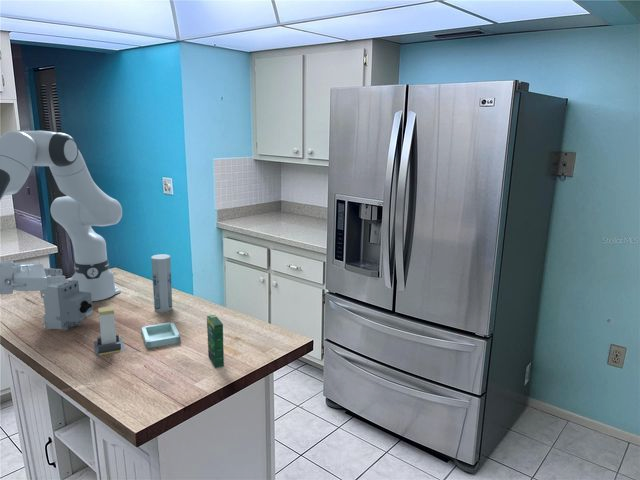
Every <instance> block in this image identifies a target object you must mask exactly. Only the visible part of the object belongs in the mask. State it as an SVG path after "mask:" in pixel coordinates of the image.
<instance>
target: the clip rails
mask: <svg viewBox="0 0 640 480" xmlns="http://www.w3.org/2000/svg"><path fill="white" fill-rule="evenodd" d="M96 338H97V339H96V340H95V341H93V346H94V355H95V357H98V356H103V355H109V354H114V353H116V354H117V353H121V352H125V351H126V349H125V345H124V341H123V337H122V336H119V334H118V333H116V343H111V344H105V345H101V336H97V337H96Z"/></svg>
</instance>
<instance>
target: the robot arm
mask: <svg viewBox="0 0 640 480" xmlns="http://www.w3.org/2000/svg"><path fill="white" fill-rule="evenodd" d="M80 151H81V150H79V146H78V143H77V142H76V140H75V139H74V138H73V137H72V136H71V135H70V134H68V133H67V134H66V133H64V132H56V131H55V132H54V131H49V130H48V131H47V130H8V131H6V132H4V133H3V134H2V135H1V136H0V201H1V200H2V199H3V197H4V196H12V195H15V194H18V192H19V191H20V190H21V189H22V187H24V185H25V183H26V181H27V180H28V178H29V176H30V173H31V171H32V168H33V167H49V170H50V172H51V174H52V176H53V179H54V181H55V184H56V185H57V188H58V190H59V191H60V192H61V193H62V194H63V196H59V197H56V198H55V199H54V200H53V201H52V203H51V205H50V209H49V210H50V211H49V212H50V215H51V218H52V219H53V221H55V222H56V223H57V224H59V225H60V226H61V227H62V228H63V229H64V230H65V231H66V232H67V234H68V236H69V238H70V240H71V243H72V247H73V255H74V262H73V268H74V274H73V275H72V276H71V277H70V280H77V281H78V284H79V291H81V292H90V293H91V298H92V302H97V301H102V300H106V299H109V298H111V297H113V296H114V295H117V294H120V293H121V292H122V291H121V289H120V288H119V287H118V286H117V285H116V284H115V274H114V273H113V271H111V270H110V262H109V259H108V255H107V253H108V252H107V242H106V240H105V238H104V237H103V236H102V235H100V234H98V233H96V231H95V230H94V229H93V228H92V227H108V226H113V225H117V224H118V223H119V222H120V221H121V219H122V216H123V207H122V205H121V203H120V202H119V201H118V200H117V199H115V198H113V197H111V196H110V195H108V194H107V193H105V192H104V191H103V190H102V189H101V188H100V187H99V186H98V185H97V184H96V183H95V181H94V179H93V178H92V176H91V173H90V171H89V169H88V167H87V164H86V161H85V159H84V157H83V155H82V153H81V152H80ZM64 195H65V196H64ZM65 281H66V276H65V275H63V269H61V268H51V267H49V268H48V267H44V265H43V264H42V263H34V262H14V261H13V260H4V261H0V295H13V293H14V291H15V292H40V291H42V290H46V289H47V285H52V284H57V283H64V282H65Z"/></svg>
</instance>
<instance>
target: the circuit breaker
mask: <svg viewBox="0 0 640 480" xmlns="http://www.w3.org/2000/svg"><path fill="white" fill-rule="evenodd" d="M39 293H40V294H39V295H40V299H42V300H43V304H44V305H43V306H44V315H42V319H43V325H44V330H47V329H48V330H54V329H55V330H62V331H63V330H64V331H68V330H69V329H71V328H72V327H77V326H78V324H79V325H80V324H82V323H83V320H84V319H85V318H87V317H89V316H91V315H92V314H94V311H93V301H92V298H91V293H90V292H81V291H79V284H78V281H77V280H71V279H66V281H65V282H64V283H57V284H52V285H47V289H46V290H42V291H39Z"/></svg>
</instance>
